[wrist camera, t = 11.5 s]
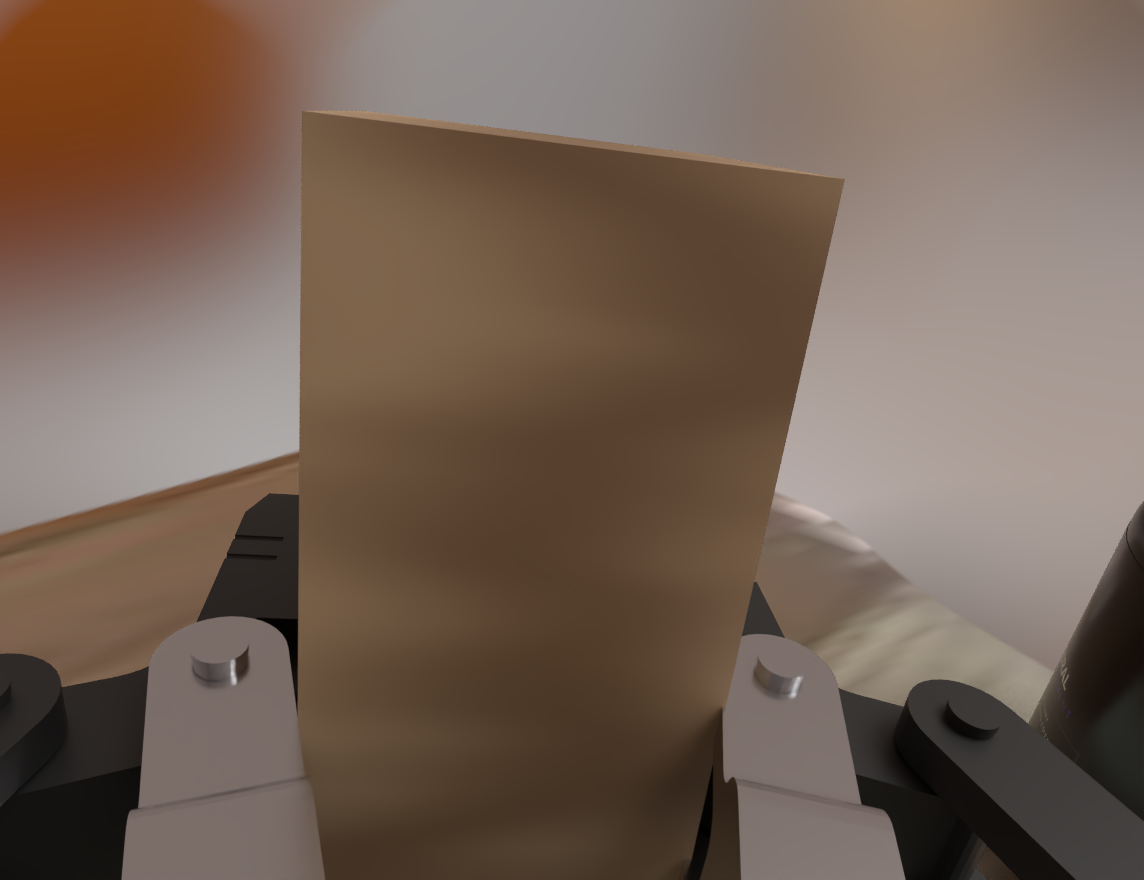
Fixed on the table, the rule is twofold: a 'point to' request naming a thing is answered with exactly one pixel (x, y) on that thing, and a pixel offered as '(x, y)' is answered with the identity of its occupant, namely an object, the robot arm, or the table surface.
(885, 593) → the table surface
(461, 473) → the walnut keyhole peg
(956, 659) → the table surface
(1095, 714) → the supplement bottle
